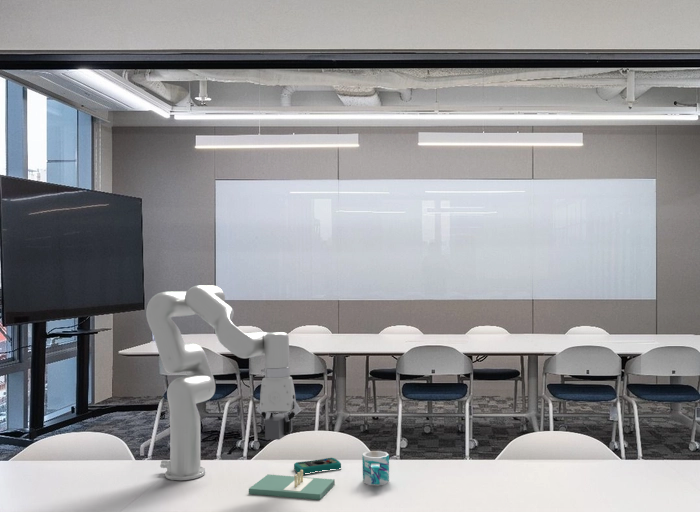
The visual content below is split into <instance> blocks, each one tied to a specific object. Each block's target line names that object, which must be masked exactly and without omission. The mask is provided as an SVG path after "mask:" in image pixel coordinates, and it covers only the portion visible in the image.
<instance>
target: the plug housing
mask: <svg viewBox="0 0 700 512" xmlns="http://www.w3.org/2000/svg"><path fill="white" fill-rule="evenodd" d="M284 422H285V417H284V413H283V412H277V414H275V415H274V414H273V416H272V417H270V418H268V419H266V420H264V436H265V437H264V438H265V440H273V441H274V440H277V441H278V440H279V441H280V440H281V439H283V438H284V437H286V436H287V435H284ZM292 432H293V419H292V420H291V432H290V434H291V433H292Z"/></svg>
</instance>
